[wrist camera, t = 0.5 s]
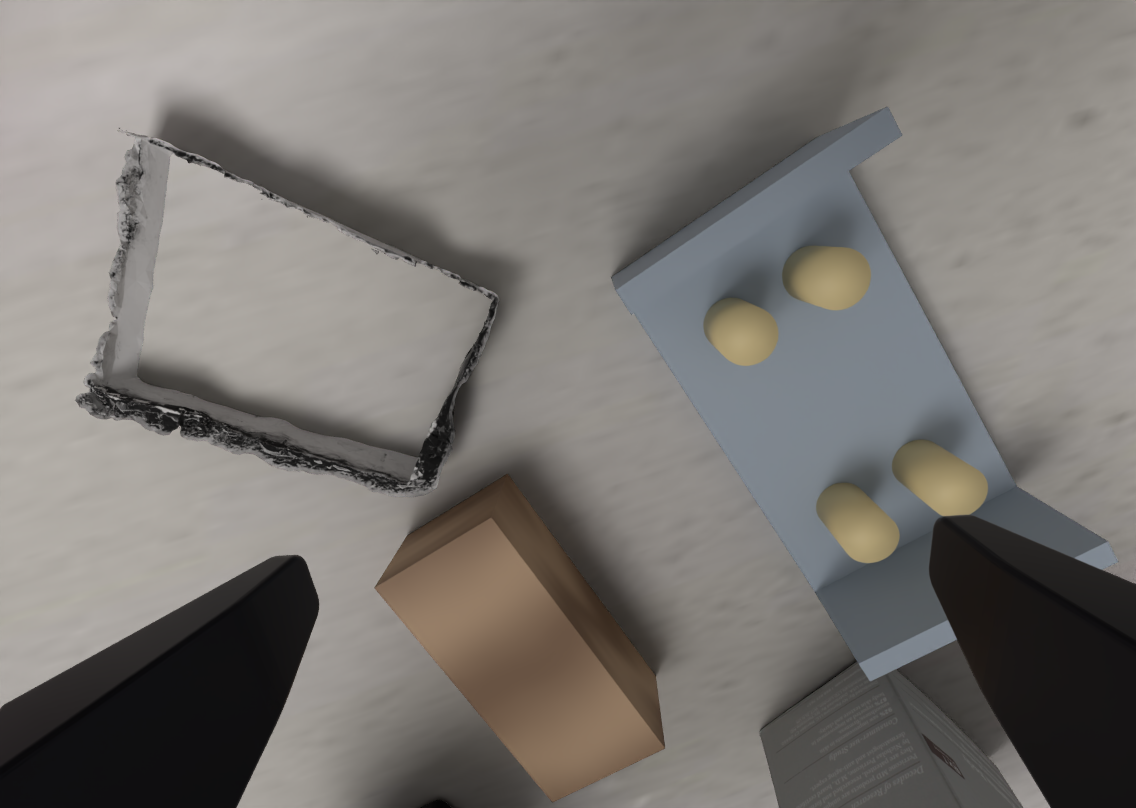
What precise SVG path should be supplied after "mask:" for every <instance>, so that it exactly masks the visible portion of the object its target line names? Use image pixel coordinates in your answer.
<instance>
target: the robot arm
mask: <svg viewBox="0 0 1136 808" xmlns="http://www.w3.org/2000/svg"><path fill="white" fill-rule="evenodd" d="M929 577H930V581H931V584H932V587H933V589H934V591H935V593H936V595H937V598H938V600H939V602H940V604H941V606H942V608H943V611H944V613H945V615H946V617H947V619H948V621H949V624H950V626H951V628H952V630H953V632H954V634H955V636H956V639H957V641H958V643H959V645H960V647H961V649H962V652H963V654H964V656H965V658H966V660H967V662H968V665H969V667H970V669H971V671H972V673H973V675H974V677H975V679H976V681H977V683H978V685H979V687H980V689H981V691H982V693H983V695H984V696H985V698H986V700H987V702H988V704H989V705H990V707H991V709H992V711H993V712H994V714H995V716H996V717H997V719H998V721H999V722H1000V724H1001V726H1002V727H1003V729H1004V731H1005V732H1006V734H1007V736H1008V737H1009V739H1010V741H1011V742H1012V744H1013V746H1014V747H1015V749H1016V751H1017V752H1018V754H1019V756H1020V757H1021V759H1022V761H1023V762H1024V764H1025V766H1026V767H1027V769H1028V771H1029V772H1030V774H1031V776H1032V777H1033V779H1034V781H1035V782H1036V784H1037V786H1038V787H1039V789H1040V791H1041V792H1042V794H1043V796H1044V797H1045V799H1046V801H1047V802H1048V804H1049V806H1050V807H1051V808H1136V584H1134V583H1132V582H1129V581H1127V580H1125V579H1122V578H1120V577H1118V576H1115V575H1113V574H1111V573H1108V572H1106V571H1103V570H1101V569H1099V568H1096V567H1094V566H1092V565H1089V564H1087V563H1085V562H1082V561H1080V560H1078V559H1075V558H1073V557H1070V556H1068V555H1066V554H1063V553H1061V552H1059V551H1056V550H1054V549H1052V548H1049V547H1047V546H1045V545H1042V544H1040V543H1037V542H1035V541H1033V540H1030V539H1028V538H1026V537H1023V536H1021V535H1019V534H1016V533H1014V532H1012V531H1009V530H1007V529H1004V528H1002V527H1000V526H997V525H995V524H993V523H990V522H988V521H986V520H983V519H981V518H978V517H976V516H973V515H953V516H941V517H939V518H938V519H937V520H936V521H935V523H934V527H933V534H932V542H931V551H930V560H929ZM318 611H319V599H318V595H317V592H316V589H315V586H314V584H313V581H312V578H311V575H310V572H309V569H308V566H307V564H306V561H305V560H304V559H303V558H302V557H301V556H299V555H286V556H275V557H271V558H269V559H267V560H266V561H264V562H262V563H260V564H258V565H257V566H255V567H253V568H251V569H249V570H248V571H246V572H244V573H242V574H240V575H238V576H237V577H235V578H233V579H231V580H229V581H228V582H226V583H224V584H222V585H220V586H218V587H217V588H215V589H213V590H211V591H209V592H208V593H206V594H204V595H202V596H200V597H199V598H197V599H195V600H193V601H191V602H189V603H188V604H186V605H184V606H182V607H180V608H179V609H177V610H175V611H173V612H171V613H170V614H168V615H166V616H164V617H162V618H160V619H159V620H157V621H155V622H153V623H151V624H150V625H148V626H146V627H144V628H142V629H140V630H139V631H137V632H135V633H133V634H131V635H130V636H128V637H126V638H124V639H122V640H121V641H119V642H117V643H115V644H113V645H111V646H110V647H108V648H106V649H104V650H102V651H101V652H99V653H97V654H95V655H93V656H91V657H90V658H88V659H86V660H84V661H82V662H81V663H79V664H77V665H75V666H73V667H72V668H70V669H68V670H66V671H64V672H62V673H61V674H59V675H57V676H55V677H53V678H52V679H50V680H48V681H46V682H44V683H43V684H41V685H39V686H37V687H35V688H33V689H32V690H30V691H28V692H26V693H24V694H23V695H21V696H19V697H17V698H15V699H13V700H12V701H10V702H8V703H6V704H4V705H3V706H2V707H1V709H0V808H236V807H237V805H238V803H239V801H240V799H241V797H242V795H243V793H244V791H245V789H246V787H247V784H248V782H249V780H250V778H251V776H252V774H253V772H254V770H255V768H256V766H257V764H258V761H259V759H260V757H261V755H262V753H263V751H264V749H265V747H266V745H267V743H268V741H269V738H270V736H271V734H272V732H273V730H274V728H275V726H276V724H277V721H278V719H279V717H280V715H281V712H282V710H283V708H284V705H285V703H286V700H287V698H288V695H289V693H290V690H291V687H292V684H293V682H294V679H295V676H296V673H297V671H298V668H299V665H300V662H301V660H302V657H303V654H304V652H305V649H306V646H307V643H308V641H309V638H310V635H311V632H312V630H313V627H314V624H315V621H316V619H317V616H318ZM421 808H451V807H450V805H449V804H447V803H446V802H445V801H442V800H436V801H433V802H431V803H429V804H427V805H425V806H423V807H421Z"/></svg>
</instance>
